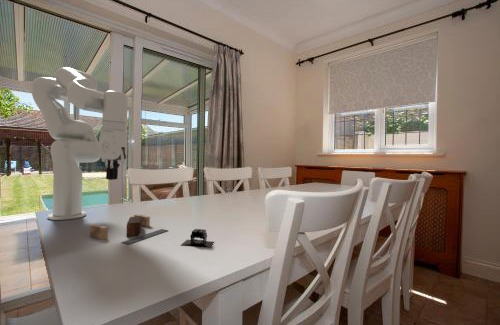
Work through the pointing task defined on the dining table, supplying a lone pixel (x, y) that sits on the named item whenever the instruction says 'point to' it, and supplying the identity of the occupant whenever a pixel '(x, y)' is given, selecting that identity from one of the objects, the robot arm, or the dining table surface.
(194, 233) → the black arch bracket
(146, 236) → the dark grey flat strip
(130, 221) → the brick
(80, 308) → the dining table surface
